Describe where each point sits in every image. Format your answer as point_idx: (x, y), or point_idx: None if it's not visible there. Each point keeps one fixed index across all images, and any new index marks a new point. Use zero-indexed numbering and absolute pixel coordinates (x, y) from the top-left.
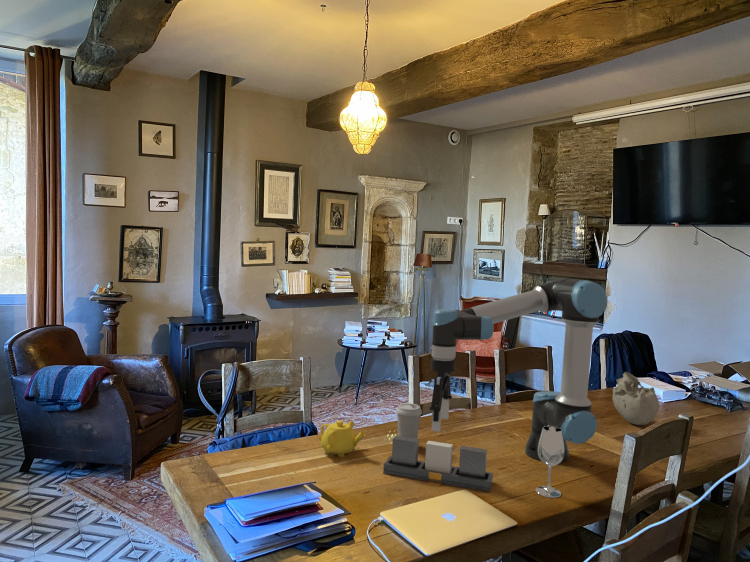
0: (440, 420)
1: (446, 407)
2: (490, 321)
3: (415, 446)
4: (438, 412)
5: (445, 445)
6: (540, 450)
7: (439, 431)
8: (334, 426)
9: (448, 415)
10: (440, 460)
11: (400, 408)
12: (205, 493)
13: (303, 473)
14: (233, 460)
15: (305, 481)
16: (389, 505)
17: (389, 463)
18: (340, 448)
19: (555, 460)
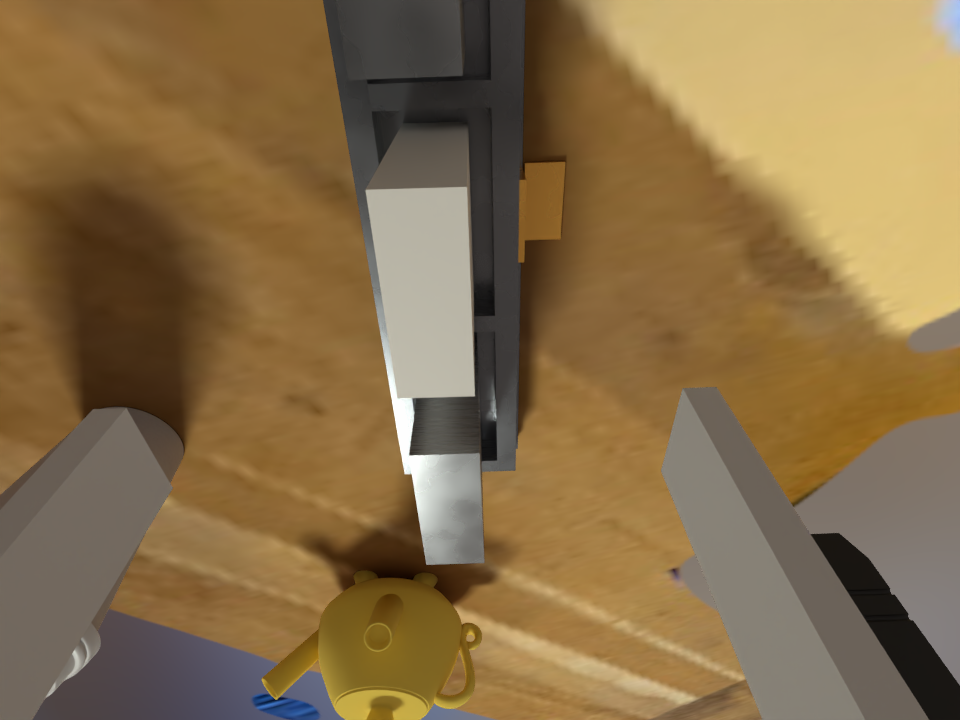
0: (800, 522)
1: (15, 592)
2: None
3: (478, 434)
4: (940, 717)
5: (436, 250)
6: None
7: (718, 395)
8: (402, 715)
9: (67, 446)
10: (470, 230)
11: (59, 684)
12: None
13: (617, 606)
14: (590, 712)
15: (676, 587)
16: (845, 331)
17: (497, 454)
18: (451, 616)
19: None
